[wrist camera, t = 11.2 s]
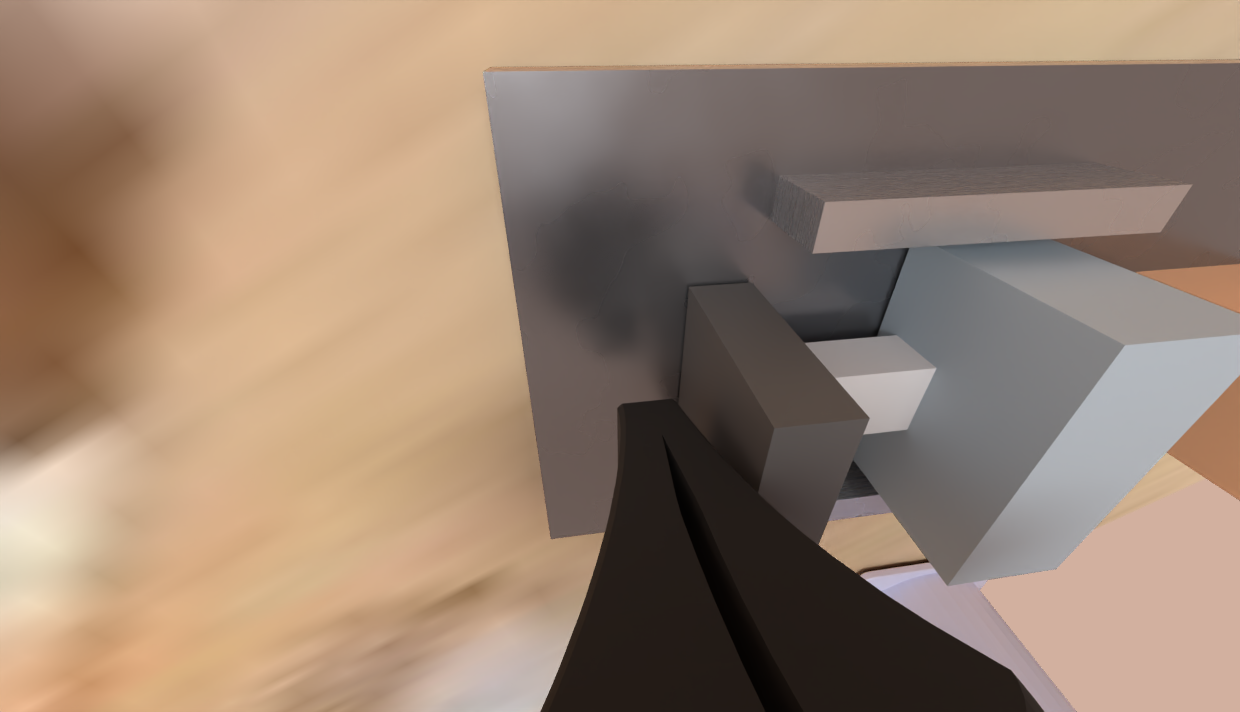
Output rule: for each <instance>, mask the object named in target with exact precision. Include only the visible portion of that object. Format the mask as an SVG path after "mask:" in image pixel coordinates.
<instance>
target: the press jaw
mask: <svg viewBox="0 0 1240 712" xmlns="http://www.w3.org/2000/svg"><path fill="white" fill-rule="evenodd" d="M1239 375H1240V314H1239V313H1236V312H1234V311H1231V310H1229V309H1226V308H1224V307H1221V306H1219V305H1216V304H1214V303H1211V302H1208V301H1206V300H1203V299H1201V298H1198V297H1196V296H1193V295H1191V294H1188V293H1186V292H1183V291H1181V290H1178V289H1176V288H1173V287H1170V286H1168V285H1165V284H1163V283H1160V282H1158V281H1155V280H1153V279H1150V278H1148V277H1145V276H1143V275H1140V274H1138V273H1135V272H1132V271H1130V270H1127V269H1125V268H1122V267H1120V266H1117V265H1115V264H1112V263H1110V262H1107V261H1105V260H1102V259H1100V258H1097V257H1094V256H1092V255H1089V254H1087V253H1084V252H1082V251H1079V250H1077V249H1074V248H1072V247H1069V246H1067V245H1064V244H1062V243H1059V242H1056V241H1054V240H1051V239H1043V240H1027V241H1011V242H994V243H978V244H962V245H945V246H929V247H913V248H909V251H908V253H907V256H906V259H905V261H904V264H903V267H902V270H901V272H900V275H899V278H898V280H897V283H896V286H895V289H894V291H893V294H892V297H891V299H890V302H889V305H888V308H887V310H886V313H885V316H884V318H883V321H882V324H881V326H880V329H879V332H878V335H877V337H868V338H857V339H845V340H833V341H821V342H810V343H804V342H803V341H802V339H801V338H800V337H799V336H798V335H797V334H796V333H795V331H794V330H793V329H792V328H791V327H790V326H789V325H788V323H787V322H786V321H785V320H784V319H783V318H782V317H781V315H780V314H779V313H778V312H777V311H776V310H775V308H774V307H773V306H772V305H771V304H770V303H769V302H768V300H767V299H766V298H765V297H764V296H763V295H762V294H761V292H760V291H759V290H758V289H757V288H756V287H755V285H754V284H753V283H752V282H751V283H737V284H722V285H707V286H693V287H689V292H688V303H687V314H686V325H685V336H684V348H683V359H682V370H681V381H680V392H679V403H678V405H679V406H680V407H681V408H682V410H683V411H684V412H685V413H686V415H687V416H688V417H689V418H690V420H691V421H692V422H693V423H694V425H695V426H696V427H697V428H698V429H699V431H700V432H701V433H702V434H703V435H704V436H705V438H706V439H707V440H708V441H709V442H710V443H711V445H712V446H713V447H714V448H715V449H716V450H717V451H718V452H719V453H720V454H721V456H722V457H723V458H724V459H725V460H726V461H727V462H728V463H729V464H730V465H731V466H732V467H733V468H734V470H735V471H736V472H737V473H738V474H739V475H740V476H741V477H742V478H743V479H744V480H745V481H746V482H747V483H748V484H749V485H750V486H751V487H752V488H753V489H754V490H756V491H757V492H758V493H759V494H760V495H761V496H762V497H763V498H764V499H765V500H766V501H767V502H768V503H769V504H770V505H771V506H772V507H774V508H775V509H776V510H777V511H778V512H779V513H780V514H781V515H783V516H784V517H785V518H786V519H787V520H788V521H790V522H791V523H792V524H793V525H794V526H795V527H797V528H798V529H799V530H800V531H801V532H803V533H804V534H805V535H806V536H807V537H809V538H810V539H811V540H813V541H814V542H815V543H816V544H819V542H820V539H821V537H822V535H823V532H824V530H825V527H826V525H827V522H828V520H829V517H830V515H831V512H832V510H833V508H834V505H835V503H836V500H837V498H838V495H839V493H840V490H841V488H842V485H843V483H844V481H845V478H846V476H847V473H848V471H849V468H850V466H851V463H852V461H853V460H854V462H855V463H856V464H857V466H858V467H859V468H860V470H861V471H862V472H863V474H864V475H865V476H866V478H867V479H868V480H869V482H870V483H871V484H872V486H873V487H874V488H875V490H876V491H877V492H878V494H879V495H880V496H881V498H882V499H883V501H884V502H885V503H886V505H887V506H888V507H889V509H890V510H891V511H892V513H893V514H894V515H895V517H896V518H897V519H898V521H899V522H900V523H901V525H902V526H903V527H904V529H905V530H906V531H907V533H908V534H909V535H910V537H911V538H912V539H913V541H914V542H915V543H916V545H917V546H918V548H919V549H920V550H921V552H922V553H923V554H924V556H925V557H926V558H927V560H928V561H929V562H930V564H931V565H932V566H933V568H934V569H935V570H936V572H937V573H938V574H939V576H940V577H941V578H942V580H943V581H944V582H945V584H946V585H947V586H952V585H958V584H964V583H971V582H977V581H984V580H990V579H996V578H1002V577H1009V576H1016V575H1022V574H1028V573H1035V572H1041V571H1048V570H1054V569H1057V567H1058V566H1059V565H1060V564H1061V563H1062V562H1063V561H1064V560H1065V559H1066V558H1067V557H1068V556H1069V555H1070V554H1071V553H1072V552H1073V551H1074V549H1075V548H1076V547H1077V546H1078V545H1079V544H1080V543H1081V542H1082V541H1083V540H1084V539H1085V538H1086V537H1087V536H1088V535H1089V534H1090V533H1091V532H1092V531H1093V529H1094V528H1095V527H1096V526H1097V525H1098V524H1099V523H1100V522H1101V521H1102V520H1103V519H1104V518H1105V517H1106V516H1107V515H1108V514H1109V513H1110V512H1111V510H1112V509H1113V508H1114V507H1115V506H1116V505H1117V504H1118V503H1119V502H1120V501H1121V500H1122V499H1123V498H1124V497H1125V496H1126V495H1127V494H1128V493H1129V492H1130V490H1131V489H1132V488H1133V487H1134V486H1135V485H1136V484H1137V483H1138V482H1139V481H1140V480H1141V479H1142V478H1143V477H1144V476H1145V475H1146V474H1147V473H1148V471H1149V470H1150V469H1151V468H1152V467H1153V466H1154V465H1155V464H1156V463H1157V462H1158V461H1159V460H1160V459H1161V458H1162V457H1163V456H1164V455H1165V454H1166V452H1167V451H1168V450H1169V449H1170V448H1171V447H1172V446H1173V445H1174V444H1175V443H1176V442H1177V441H1178V440H1179V439H1180V438H1181V437H1182V436H1183V435H1184V433H1185V432H1186V431H1187V430H1188V429H1189V428H1190V427H1191V426H1192V425H1193V424H1194V423H1195V422H1196V421H1197V420H1198V419H1199V418H1200V417H1201V416H1202V415H1203V413H1204V412H1205V411H1206V410H1207V409H1208V408H1209V407H1210V406H1211V405H1212V404H1213V403H1214V402H1215V401H1216V400H1217V399H1218V398H1219V397H1220V396H1221V394H1222V393H1223V392H1224V391H1225V390H1226V389H1227V388H1228V387H1229V386H1230V385H1231V384H1232V383H1233V382H1234V381H1235V380H1236V379H1237V378H1238V377H1239Z"/></svg>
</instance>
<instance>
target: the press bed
mask: <svg viewBox="0 0 1240 712" xmlns="http://www.w3.org/2000/svg"><path fill="white" fill-rule="evenodd" d="M483 76H484V83H485V90H486V97H487V104H488V110H489V117H490V124H491V131H492V138H493V145H494V152H495V159H496V165H497V172H498V179H499V186H500V193H501V200H502V207H503V213H504V220H505V227H506V234H507V241H508V248H509V255H510V261H511V268H512V275H513V282H514V289H515V296H516V303H517V310H518V316H519V323H520V330H521V337H522V344H523V351H524V358H525V364H526V371H527V378H528V385H529V392H530V399H531V406H532V413H533V419H534V426H535V433H536V440H537V447H538V454H539V461H540V467H541V474H542V481H543V488H544V495H545V502H546V509H547V515H548V522H549V529H550V536H551V539H555V538H563V537H571V536H578V535H586V534H594V533H602V532H605V530H606V526H607V522H608V518H609V513H610V508H611V503H612V498H613V493H614V488H615V483H616V477H617V469H618V439H617V408H618V407H619V406H620V405H621V404H623V403H633V402H643V401H653V400H663V399H674V400H675V401H676V402H677V403H679V392H680V381H681V370H682V359H683V348H684V336H685V325H686V314H687V303H688V292H689V287H693V286H707V285H722V284H737V283H751V282H752V283H753V284H754V285H755V287H756V288H757V289H758V290H759V291H760V292H761V294H762V295H763V296H764V297H765V298H766V299H767V300H768V302H769V303H770V304H771V305H772V306H773V307H774V308H775V310H776V311H777V312H778V313H779V314H780V315H781V317H782V318H783V319H784V320H785V321H786V322H787V323H788V325H789V326H790V327H791V328H792V329H793V330H794V331H795V333H796V334H797V335H798V336H799V337H800V338H801V339H802V341H803V342H804V343H810V342H821V341H833V340H845V339H857V338H868V337H877V335H878V332H879V329H880V326H881V324H882V321H883V318H884V316H885V313H886V310H887V308H888V305H889V302H890V299H891V297H892V294H893V291H894V289H895V286H896V283H897V280H898V278H899V275H900V272H901V270H902V267H903V264H904V261H905V259H906V256H907V253H908V251H909V248H913V247H929V246H945V245H962V244H978V243H994V242H1011V241H1027V240H1043V239H1051V240H1054V241H1056V242H1059V243H1062V244H1064V245H1067V246H1069V247H1072V248H1074V249H1077V250H1079V251H1082V252H1084V253H1087V254H1089V255H1092V256H1094V257H1097V258H1100V259H1102V260H1105V261H1107V262H1110V263H1112V264H1115V265H1117V266H1120V267H1122V268H1125V269H1127V270H1130V271H1132V272H1135V273H1136V272H1140V271H1153V270H1167V269H1180V268H1193V267H1206V266H1219V265H1232V264H1240V59H1236V60H1140V61H1044V62H948V63H852V64H756V65H660V66H564V67H490V68H488V69H486V70H485V71H483ZM891 512H892V511H891V510H890V509H889V507H888V506H887V505H886V503H885V502H884V501H883V499H882V498H881V496H880V495H879V494H878V492H877V491H876V490H875V488H874V487H873V486H872V484H871V483H870V482H869V480H868V479H867V478H866V476H865V475H864V474H863V472H862V471H861V470H860V468H859V467H858V466H857V464H856V463H855V462H854V460H853V461H852V463H851V466H850V468H849V471H848V473H847V476H846V478H845V481H844V483H843V485H842V488H841V490H840V493H839V495H838V498H837V500H836V503H835V505H834V508H833V510H832V512H831V515H830V517H829V520H828V521H831V520H839V519H846V518H854V517H861V516H869V515H876V514H884V513H891Z"/></svg>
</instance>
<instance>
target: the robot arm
mask: <svg viewBox="0 0 1240 712" xmlns="http://www.w3.org/2000/svg"><path fill="white" fill-rule="evenodd" d="M617 439H618V469H617V477H616V483H615V488H614V493H613V498H612V503H611V508H610V513H609V518H608V522H607V526H606V530H605V534H604V538H603V542H602V545H601V549H600V553H599V556H598V560H597V563H596V566H595V569H594V573H593V576H592V579H591V582H590V585H589V588H588V592H587V595H586V598H585V601H584V603H583V606H582V609H581V612H580V615H579V618H578V620H577V623H576V626H575V628H574V631H573V633H572V636H571V639H570V641H569V644H568V646H567V649H566V652H565V654H564V657H563V660H562V662H561V665H560V667H559V670H558V672H557V675H556V677H555V680H554V682H553V684H552V687H551V689H550V691H549V694H548V696H547V698H546V700H545V703H544V705H543V707H542V710H541V712H1076V710H1075V709H1074V708H1073V707H1072V705H1071V704H1070V703H1069V702H1068V700H1067V699H1066V698H1065V697H1064V695H1063V694H1062V693H1061V691H1060V690H1059V689H1058V688H1057V686H1056V685H1055V684H1054V683H1053V681H1052V680H1051V679H1050V678H1049V677H1048V675H1047V674H1046V673H1045V671H1044V670H1043V669H1042V668H1041V667H1040V666H1039V664H1038V663H1037V661H1036V660H1035V659H1034V658H1033V656H1032V655H1031V654H1030V653H1029V651H1028V650H1027V649H1026V648H1025V646H1024V645H1023V644H1022V643H1021V641H1020V640H1019V639H1018V638H1017V636H1016V635H1015V634H1014V633H1013V631H1012V630H1011V629H1010V628H1009V626H1008V625H1007V624H1006V622H1004V620H1003V619H1002V617H1001V616H1000V615H999V614H998V613H997V611H996V610H995V609H994V607H993V606H992V605H991V604H990V602H988V600H987V599H986V598H985V596H984V595H983V594H982V593H981V591H980V589H981V588H982V587H983V585H984V584H985V583H986V582H987V580H984V581H977V582H971V583H964V584H958V585H952V586H947V585H946V584H945V582H944V581H943V580H942V578H941V577H940V576H939V574H938V573H937V572H936V570H935V569H934V568H933V566H932V565H931V564H930V562H929V563H922V564H915V565H908V566H902V567H895V568H888V569H882V570H875V571H868V572H865V573H863V574H861V575H860V576H859V575H858V574H857V573H855V572H854V571H852V570H851V569H850V568H848V567H847V566H845V565H844V564H843V563H841V562H840V561H838V560H837V559H836V558H834V557H833V556H832V555H830V554H829V553H828V552H826V551H825V550H824V549H823V548H821V547H820V546H819V545H818V544H816V543H815V542H814V541H813V540H811V539H810V538H809V537H807V536H806V535H805V534H804V533H803V532H801V531H800V530H799V529H798V528H797V527H795V526H794V525H793V524H792V523H791V522H790V521H788V520H787V519H786V518H785V517H784V516H783V515H781V514H780V513H779V512H778V511H777V510H776V509H775V508H774V507H772V506H771V505H770V504H769V503H768V502H767V501H766V500H765V499H764V498H763V497H762V496H761V495H760V494H759V493H758V492H757V491H756V490H754V489H753V488H752V487H751V486H750V485H749V484H748V483H747V482H746V481H745V480H744V479H743V478H742V477H741V476H740V475H739V474H738V473H737V472H736V471H735V470H734V468H733V467H732V466H731V465H730V464H729V463H728V462H727V461H726V460H725V459H724V458H723V457H722V456H721V454H720V453H719V452H718V451H717V450H716V449H715V448H714V447H713V446H712V445H711V443H710V442H709V441H708V440H707V439H706V438H705V436H704V435H703V434H702V433H701V432H700V431H699V429H698V428H697V427H696V426H695V425H694V423H693V422H692V421H691V420H690V418H689V417H688V416H687V415H686V413H685V412H684V411H683V410H682V408H681V407H680V406H679V405H678V403H677V402H676V401H675V400H674V399H663V400H653V401H643V402H633V403H623V404H621V405H620V406H619V407H618V408H617Z"/></svg>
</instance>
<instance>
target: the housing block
mask: <svg viewBox="0 0 1240 712" xmlns="http://www.w3.org/2000/svg"><path fill="white" fill-rule="evenodd" d="M1136 273H1138V274H1140V275H1143V276H1145V277H1148V278H1150V279H1153V280H1155V281H1158V282H1160V283H1163V284H1165V285H1168V286H1170V287H1173V288H1176V289H1178V290H1181V291H1183V292H1186V293H1188V294H1191V295H1193V296H1196V297H1198V298H1201V299H1203V300H1206V301H1208V302H1211V303H1214V304H1216V305H1219V306H1221V307H1224V308H1226V309H1229V310H1231V311H1234V312H1236V313H1239V314H1240V264H1232V265H1219V266H1206V267H1193V268H1180V269H1167V270H1153V271H1140V272H1136ZM1167 453H1168V454H1170V455H1171V456H1173V457H1174V458H1176V459H1177V460H1179V461H1181V462H1182V463H1184V464H1185V465H1187V466H1188V467H1190V468H1191V469H1193V470H1194V471H1196V472H1197V473H1199V474H1200V475H1202V476H1203V477H1205V478H1206V479H1208V480H1209V481H1211V482H1212V483H1214V484H1215V485H1217V486H1219V487H1220V488H1221V489H1223V490H1225V491H1226V492H1228V493H1229V494H1231V495H1232V496H1233V497H1235V498H1236V499H1238V500H1240V375H1239V377H1238V378H1237V379H1236V380H1235V381H1234V382H1233V383H1232V384H1231V385H1230V386H1229V387H1228V388H1227V389H1226V390H1225V391H1224V392H1223V393H1222V394H1221V396H1220V397H1219V398H1218V399H1217V400H1216V401H1215V402H1214V403H1213V404H1212V405H1211V406H1210V407H1209V408H1208V409H1207V410H1206V411H1205V412H1204V413H1203V415H1202V416H1201V417H1200V418H1199V419H1198V420H1197V421H1196V422H1195V423H1194V424H1193V425H1192V426H1191V427H1190V428H1189V429H1188V430H1187V431H1186V432H1185V433H1184V435H1183V436H1182V437H1181V438H1180V439H1179V440H1178V441H1177V442H1176V443H1175V444H1174V445H1173V446H1172V447H1171V448H1170V449H1169V450H1168V451H1167Z"/></svg>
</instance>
